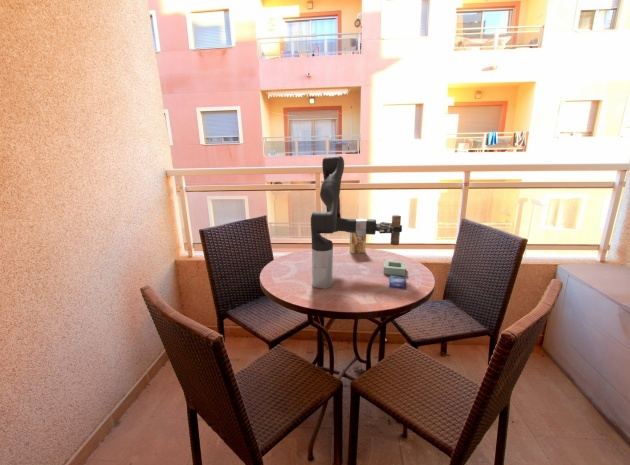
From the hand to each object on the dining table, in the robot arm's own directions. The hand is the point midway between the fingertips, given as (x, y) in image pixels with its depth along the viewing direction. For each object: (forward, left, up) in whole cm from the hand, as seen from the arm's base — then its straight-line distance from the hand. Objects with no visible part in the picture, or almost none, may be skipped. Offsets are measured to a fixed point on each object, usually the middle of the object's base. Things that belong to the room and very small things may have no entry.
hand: (401, 228), depth 141 cm
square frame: (-1, +2, -22) cm, 22 cm away
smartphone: (-14, 0, -23) cm, 27 cm away
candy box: (+24, +24, -22) cm, 41 cm away
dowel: (0, +3, -8) cm, 8 cm away
